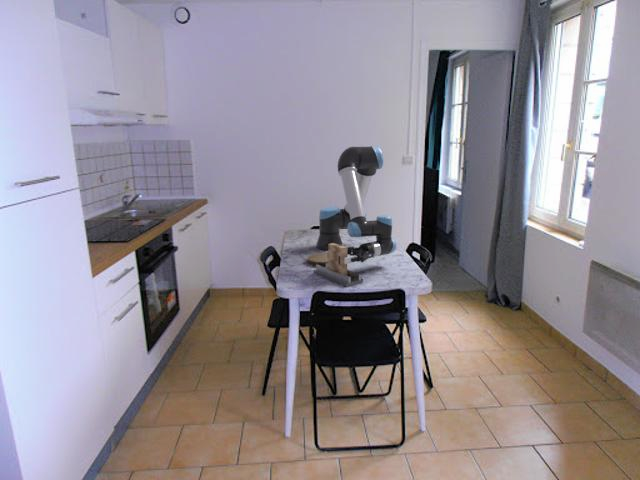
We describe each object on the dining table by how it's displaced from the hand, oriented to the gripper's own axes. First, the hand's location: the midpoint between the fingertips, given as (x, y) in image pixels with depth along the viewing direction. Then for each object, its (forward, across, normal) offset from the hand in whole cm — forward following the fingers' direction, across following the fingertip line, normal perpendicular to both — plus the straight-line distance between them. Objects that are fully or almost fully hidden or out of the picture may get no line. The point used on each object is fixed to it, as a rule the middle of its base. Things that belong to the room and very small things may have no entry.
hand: (335, 257), depth 205 cm
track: (-1, 0, -10) cm, 10 cm away
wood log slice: (-11, +24, -11) cm, 29 cm away
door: (-1, 0, -8) cm, 9 cm away
